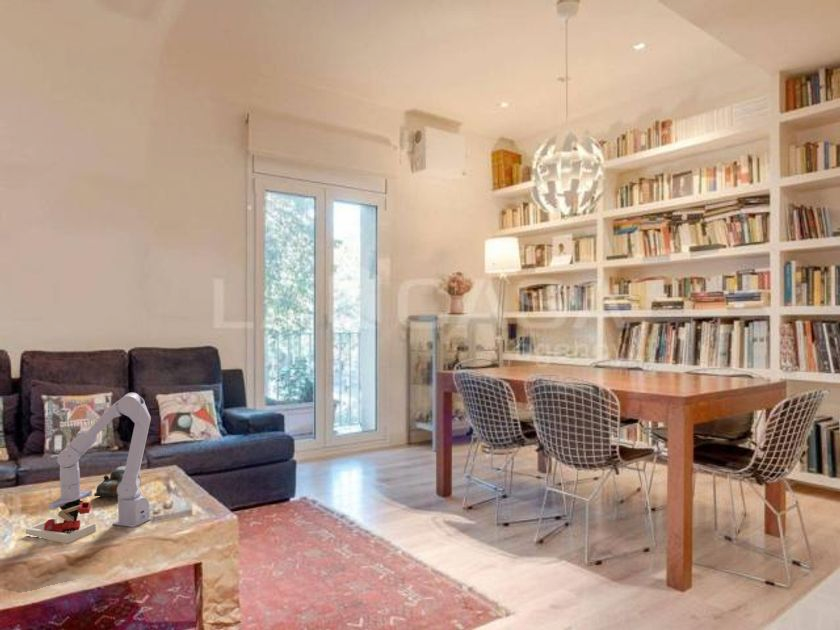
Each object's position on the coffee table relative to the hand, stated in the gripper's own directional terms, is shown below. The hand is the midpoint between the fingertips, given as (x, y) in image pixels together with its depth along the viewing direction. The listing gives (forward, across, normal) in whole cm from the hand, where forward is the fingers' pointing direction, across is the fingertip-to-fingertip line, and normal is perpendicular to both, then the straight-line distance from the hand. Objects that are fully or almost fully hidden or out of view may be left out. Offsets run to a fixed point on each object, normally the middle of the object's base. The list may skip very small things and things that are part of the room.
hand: (72, 523), depth 197 cm
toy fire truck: (+1, +2, +1) cm, 3 cm away
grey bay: (+2, +4, 0) cm, 4 cm away
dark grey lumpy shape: (+2, -30, -14) cm, 34 cm away
